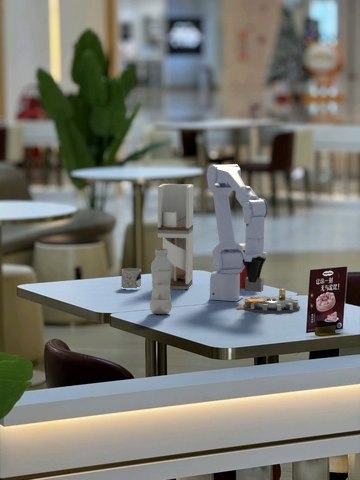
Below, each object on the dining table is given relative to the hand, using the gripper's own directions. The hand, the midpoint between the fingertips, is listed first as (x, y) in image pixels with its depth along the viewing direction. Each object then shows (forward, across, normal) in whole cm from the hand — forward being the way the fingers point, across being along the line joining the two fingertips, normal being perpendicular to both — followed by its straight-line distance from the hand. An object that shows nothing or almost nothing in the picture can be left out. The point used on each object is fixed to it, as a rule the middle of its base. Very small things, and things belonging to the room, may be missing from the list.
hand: (253, 281), depth 384 cm
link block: (+3, 0, 0) cm, 3 cm away
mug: (+9, +21, +49) cm, 55 cm away
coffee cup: (+9, +38, +13) cm, 41 cm away
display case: (+9, +29, +36) cm, 48 cm away
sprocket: (+9, +4, -5) cm, 11 cm away
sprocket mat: (+9, +4, -5) cm, 11 cm away
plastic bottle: (+9, -18, +24) cm, 32 cm away
